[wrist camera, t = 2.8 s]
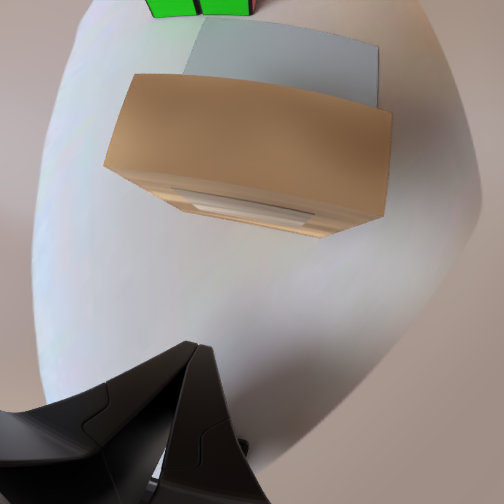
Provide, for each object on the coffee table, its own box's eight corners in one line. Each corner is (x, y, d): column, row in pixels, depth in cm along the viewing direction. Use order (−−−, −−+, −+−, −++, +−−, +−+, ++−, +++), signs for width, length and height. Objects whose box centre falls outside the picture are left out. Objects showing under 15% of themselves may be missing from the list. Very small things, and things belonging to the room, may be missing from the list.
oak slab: (320, 238, 22) (383, 218, 10) (183, 212, 22) (102, 167, 10) (329, 184, 22) (392, 113, 10) (195, 159, 22) (134, 73, 10)
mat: (368, 187, 21) (369, 186, 21) (160, 148, 22) (159, 147, 22) (377, 48, 22) (377, 46, 21) (205, 19, 22) (205, 17, 22)
